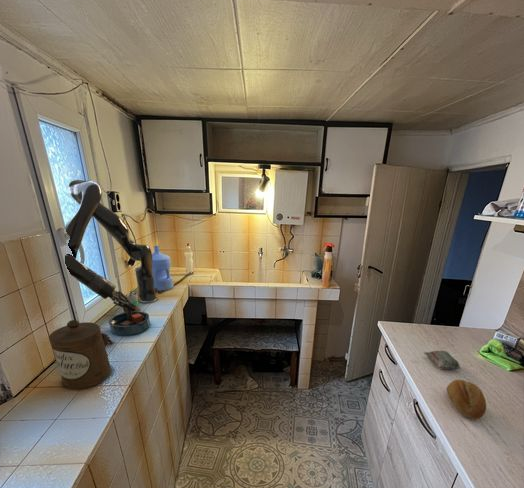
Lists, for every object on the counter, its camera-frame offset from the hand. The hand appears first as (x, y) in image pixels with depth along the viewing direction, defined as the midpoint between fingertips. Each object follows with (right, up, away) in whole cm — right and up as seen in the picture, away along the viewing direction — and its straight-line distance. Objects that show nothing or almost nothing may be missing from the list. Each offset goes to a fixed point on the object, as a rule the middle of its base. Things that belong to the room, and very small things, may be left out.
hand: (134, 308), depth 135 cm
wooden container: (-1, -26, -34) cm, 43 cm away
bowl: (-2, -9, +1) cm, 9 cm away
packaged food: (+134, -24, -22) cm, 137 cm away
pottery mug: (-8, -17, -16) cm, 25 cm away
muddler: (-2, -7, +1) cm, 8 cm away
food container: (-9, -1, +19) cm, 21 cm away
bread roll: (+127, -33, -44) cm, 138 cm away
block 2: (0, -7, +5) cm, 8 cm away
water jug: (-7, +16, +57) cm, 59 cm away
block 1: (-2, -10, -3) cm, 11 cm away
